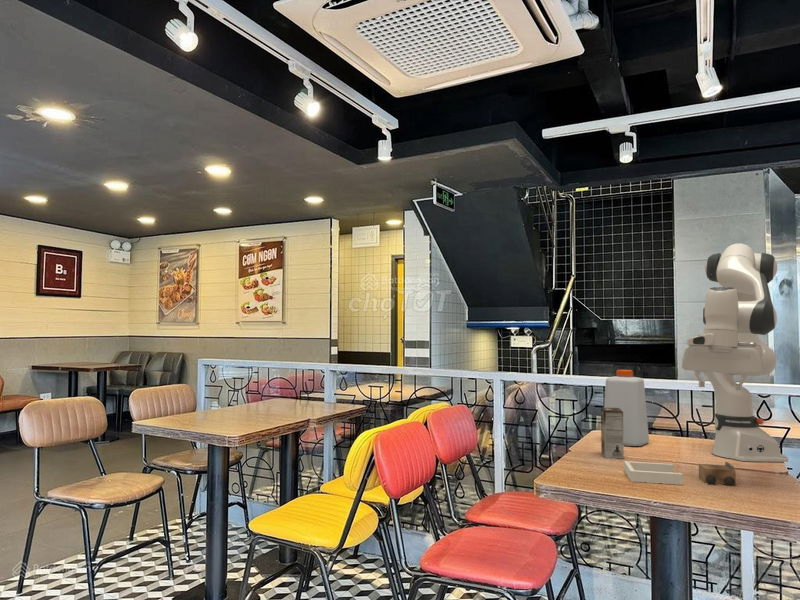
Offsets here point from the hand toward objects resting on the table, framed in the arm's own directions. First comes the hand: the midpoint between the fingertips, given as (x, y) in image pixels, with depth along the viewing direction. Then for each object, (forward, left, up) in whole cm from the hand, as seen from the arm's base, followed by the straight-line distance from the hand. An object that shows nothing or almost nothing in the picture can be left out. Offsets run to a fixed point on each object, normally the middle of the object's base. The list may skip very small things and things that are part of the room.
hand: (720, 388), depth 165 cm
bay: (+18, 0, -27) cm, 32 cm away
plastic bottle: (+18, -54, -27) cm, 63 cm away
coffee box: (+26, -28, -27) cm, 47 cm away
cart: (+1, 0, -27) cm, 27 cm away
